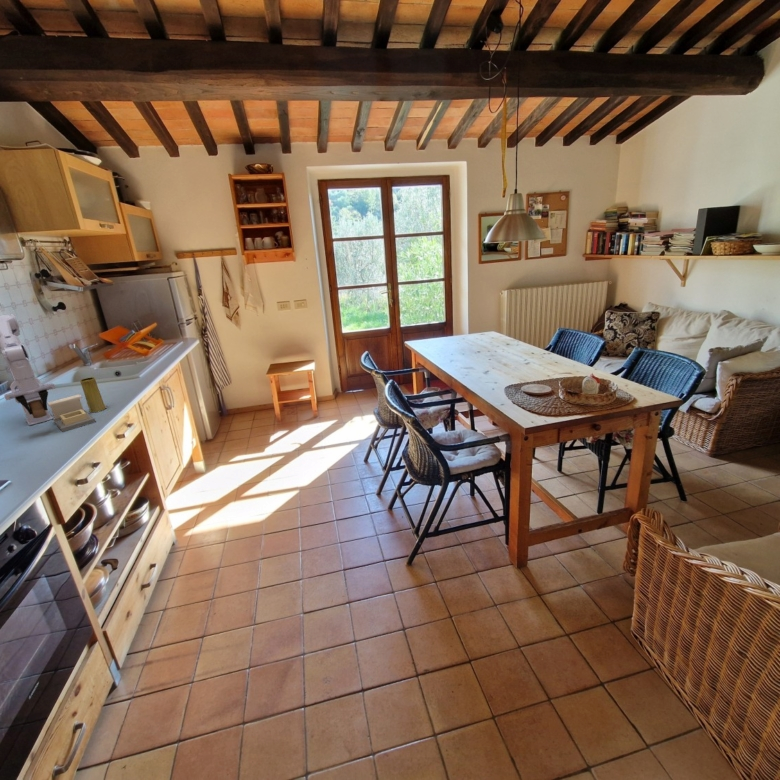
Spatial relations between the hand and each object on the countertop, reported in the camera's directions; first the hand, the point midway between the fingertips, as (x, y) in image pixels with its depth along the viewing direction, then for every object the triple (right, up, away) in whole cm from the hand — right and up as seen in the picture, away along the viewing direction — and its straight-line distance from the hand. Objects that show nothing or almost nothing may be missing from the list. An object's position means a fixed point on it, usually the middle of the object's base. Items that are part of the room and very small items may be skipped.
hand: (38, 411), depth 156 cm
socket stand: (+5, -5, +11) cm, 13 cm away
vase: (+6, -1, +23) cm, 24 cm away
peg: (0, -2, +1) cm, 2 cm away
